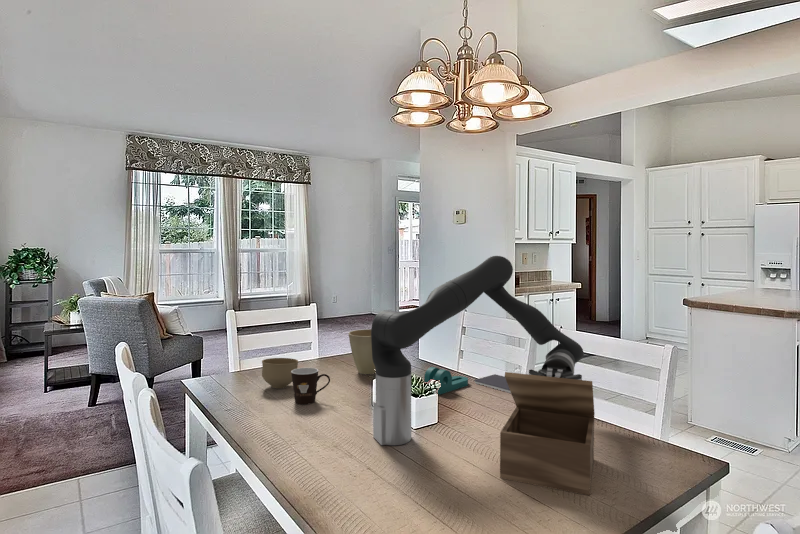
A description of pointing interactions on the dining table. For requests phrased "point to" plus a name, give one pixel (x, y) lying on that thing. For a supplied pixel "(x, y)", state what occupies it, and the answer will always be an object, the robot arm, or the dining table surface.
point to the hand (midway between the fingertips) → (550, 387)
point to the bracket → (445, 379)
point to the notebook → (494, 382)
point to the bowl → (278, 371)
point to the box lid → (552, 393)
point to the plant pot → (362, 350)
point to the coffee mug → (306, 384)
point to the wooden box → (548, 449)
